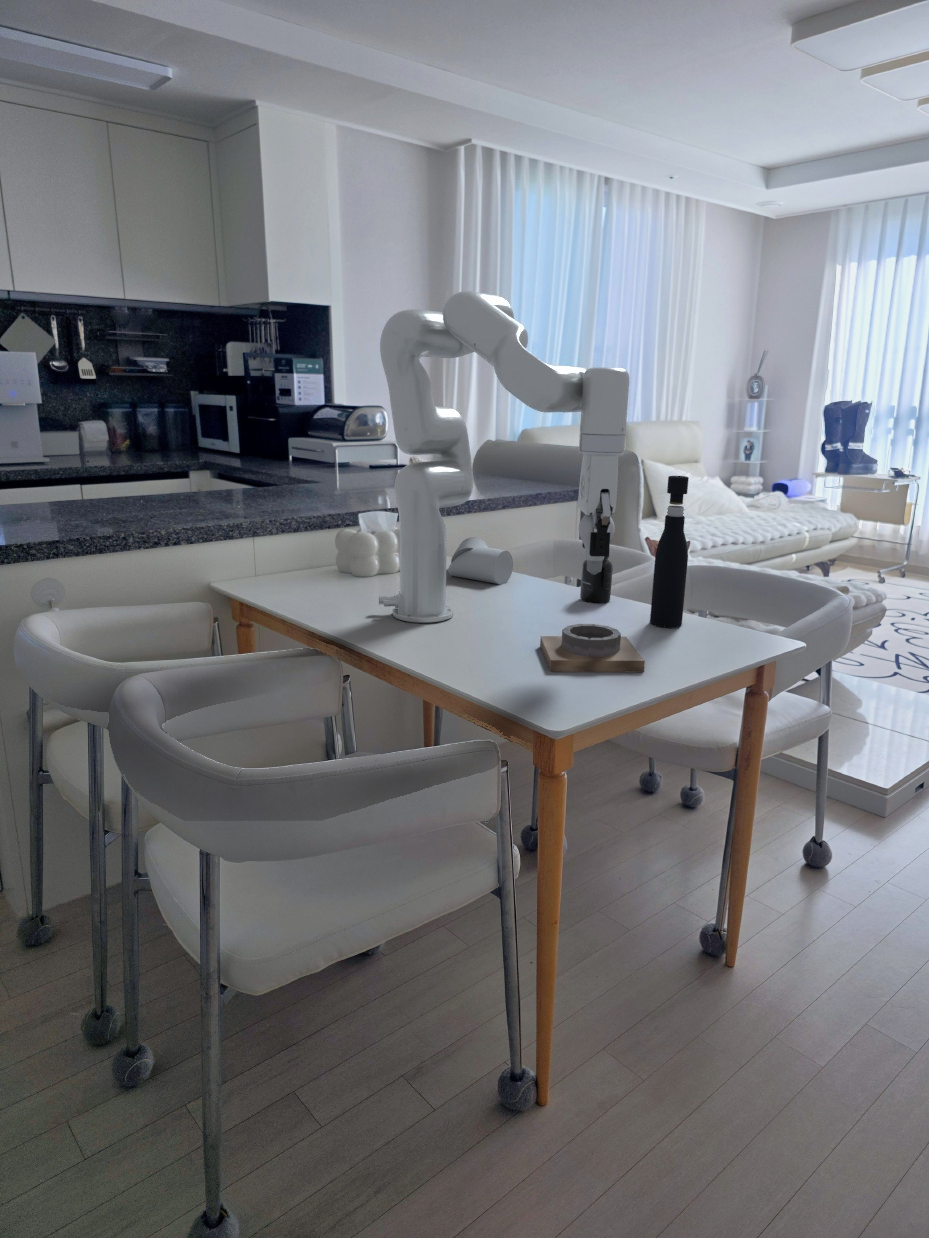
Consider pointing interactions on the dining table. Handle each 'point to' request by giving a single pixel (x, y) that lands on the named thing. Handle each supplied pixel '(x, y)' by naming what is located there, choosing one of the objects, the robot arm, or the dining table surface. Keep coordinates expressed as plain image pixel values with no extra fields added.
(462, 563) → the l-shaped cylinder
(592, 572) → the lightbulb
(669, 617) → the black water bottle
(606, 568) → the supplement bottle
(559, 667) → the socket base
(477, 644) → the dining table surface
